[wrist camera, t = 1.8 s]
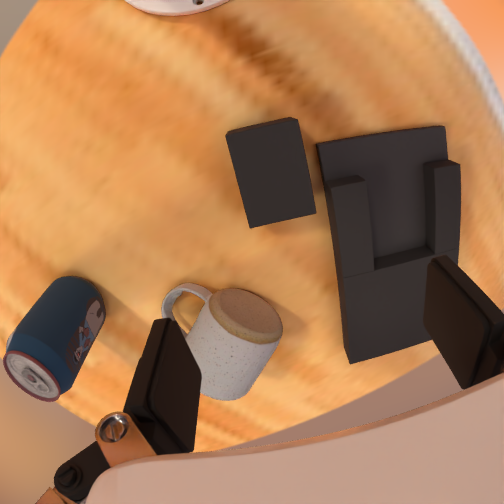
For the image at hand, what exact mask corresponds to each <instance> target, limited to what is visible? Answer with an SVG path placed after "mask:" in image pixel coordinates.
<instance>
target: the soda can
mask: <svg viewBox="0 0 504 504" xmlns="http://www.w3.org/2000/svg"><path fill="white" fill-rule="evenodd" d="M104 321H105V307H104V303H103V299H102V296H101V294H100V292H99V291H98V290H97V288H96V287H95V286H94V285H93V284H92V283H90V282H89V281H87V280H86V279H84V278H81V277H77V276H66V277H61V278H58V279H56V280H55V281H54V282H53V283H52V284H51V285H50V286H49V287H48V288H47V290H46V291H45V292H44V293H43V294H42V296H41V297H40V298H39V299H38V301H37V302H36V303H35V304H34V305H33V307H32V308H31V309H30V310H29V312H28V313H27V314H26V316H25V317H24V318H23V319H22V321H21V322H20V323H19V325H18V326H17V327H16V329H15V330H14V331H13V333H12V334H11V335H10V337H9V338H8V340H7V346H6V354H5V356H4V358H3V364H4V367H5V370H6V372H7V374H8V375H9V377H10V378H11V379H12V381H13V382H14V383H15V384H16V385H17V386H18V387H20V388H21V389H22V390H23V391H25V392H26V393H28V394H29V395H31V396H33V397H35V398H37V399H39V400H42V401H46V402H53V401H56V400H57V399H58V398H59V397H60V395H61V394H63V393H65V392H66V391H68V390H69V389H70V388H71V387H72V385H73V383H74V381H75V379H76V377H77V375H78V372H79V370H80V368H81V366H82V364H83V362H84V360H85V358H86V356H87V354H88V352H89V350H90V348H91V346H92V344H93V342H94V341H95V339H96V337H97V335H98V333H99V331H100V329H101V327H102V325H103V323H104Z"/></svg>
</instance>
